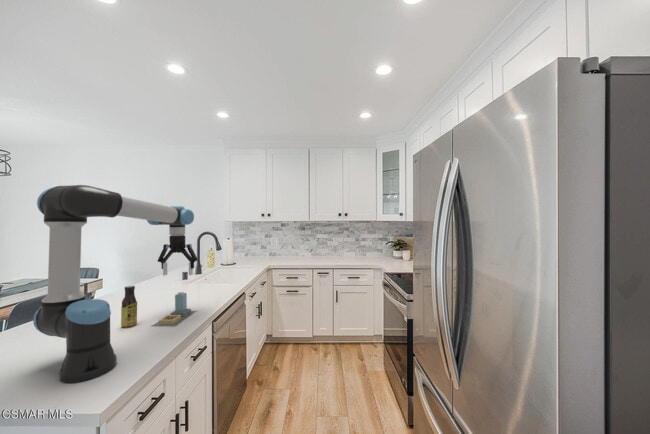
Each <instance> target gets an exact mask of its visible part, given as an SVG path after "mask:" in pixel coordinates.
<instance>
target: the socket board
mask: <svg viewBox="0 0 650 434" xmlns="http://www.w3.org/2000/svg"><path fill="white" fill-rule="evenodd" d="M196 312H198V310H192V308H187V311H185V312H184V313H175V310H173V311H172V312H170V314H166V315H165V316H163V317H162V318H160V319H159V320H158V321H157V322H155V323H154V324H152V325H150V327H152V328H153V327H159V328H160V327H163V328H164V327H167V328H169V327H177V326H178V325H180V324H181V323H183V322H184V321H185V320H187V319H188V318H190V317H191V316H192V315H194V314H196Z"/></svg>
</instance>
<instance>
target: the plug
mask: <svg viewBox="0 0 650 434" xmlns="http://www.w3.org/2000/svg"><path fill="white" fill-rule="evenodd" d="M187 297H188V296H187V292H184V291H179V292H177V294H175V295H174V311H175V313H184V312H185V311H187V309H188V306H187V305H188V303H187V302H188V301H187Z"/></svg>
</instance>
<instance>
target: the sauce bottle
mask: <svg viewBox="0 0 650 434" xmlns="http://www.w3.org/2000/svg"><path fill="white" fill-rule="evenodd" d="M135 289H136V286H135V285H127V286H124V297H123V299H122V300H121V307H120V308H121V309H120V310H121V311H120V313H121V314H120V315H121V317H120V318H121V319H120V326H121V327H120V328H121V329H131V328H133V327H135V326H137V324H138V301H137V299H136V296H135Z"/></svg>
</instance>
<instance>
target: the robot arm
mask: <svg viewBox="0 0 650 434" xmlns="http://www.w3.org/2000/svg"><path fill="white" fill-rule="evenodd" d="M36 205H37V206H36V207H37V209H38V211H39V212H41V214H42V215H43V223H44V224H45V225H46V226H48V227H49V235H48V236H49V238H48V239H49V241H48V267H47V268H48V269H47V270H48V273H47V274H48V275H47V294H46V296H45V297H43V298H42V299H41V303H40V307H39V309H38V310H36V312H35V313H34V314H33V319H32V320H33V321H32V322H33V326H34V328H35V330H36V331H39V333H41V334H43V335H46V336H50V337H57V338H61V339H62V338H63V339H65V340H66V341H65V343H66V346H65V347H66V354H65V357H64V358H63V362H62V364H61V367H60V370H59V372H58V373H59V374H58V378H59V381H60V382H62V383H66V384H67V383H68V384H69V383H70V384H72V383H79V382H85V381H89V380H92V379H95V378H98V377H100V376H103V375H105V374H107V373H108V372H110V371H111V370H113V369H114V368H115V367H116V365H117V362H118V361H117V358H118V357H117V355H116V354H115V350H114V348H113V346H112V343H111V314H112V313H111V307H110V303H109V302H108V301H106V300H104V299H98V298H97V299H96V298H95V299H91V298H89V299H86V297H85V296H86V295H85V294H84V293H83V292H81V261H82V260H81V258H82V255H81V254H82V229H83V226H85V225H87V223H88V218H95V217H96V218H97V217H98V218H99V217H102V218H103V217H104V218H112V219H113V218H115V217H117V216H118V217H123V218H124V217H125V218H129V219H130V218H132V219H138V220H146V221H147V223H148V224H149V225H152V226H160V225H161V226H165V225H167V226H168V225H169V226H168V227H169V230H168V231H169V236H168V237H169V241H168V242H169V244H168V243H166V244H163V245H162V246H163V247H162V248H163V249H162V250H161V252H160V253H159V254H160V255H159V256H158V259H157V262H158V263H161V270H162V276H164V277H165V276H167V275H168V262H167V261H168V260H169V258H171V257H172V255H173V254H176V253H177V254H180V253H181V254H182V255H183V256H184V257H185V258H186V259H187V260H188V276H192V275H193V273H194V272H193V271H194V270H193V269H194V268H195V262H198V260H199V259H198V257H197V255H196V253H195V251H194V249H193V246H192V243H187V244H186V235H185V234H186V225H187V226H188V225H191V224H192V223H193V222H194V220H195V219H194V218H195V214H194V212H193V211H192V210H191V209H189V208H187V209H186V208H185V206H182V205H181V206H180V205H177V206H176V205H171V206H168V205H163V204H158V203H153V202H149V201H145V200H140V199H137V198H136V199H135V198H130V197H126V196H123V195H122V194H120V193H119V192H115V191H111V190H108V189H104V188H99V187H95V186H90V185H85V184H75V185H72V184H71V185H57V186H54V187H50V188H47V189H45V190H44V191H42V192H41V193H40V194H39V196H38V197H37V201H36ZM168 249H169V250H168ZM167 251H168V253H167Z"/></svg>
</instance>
